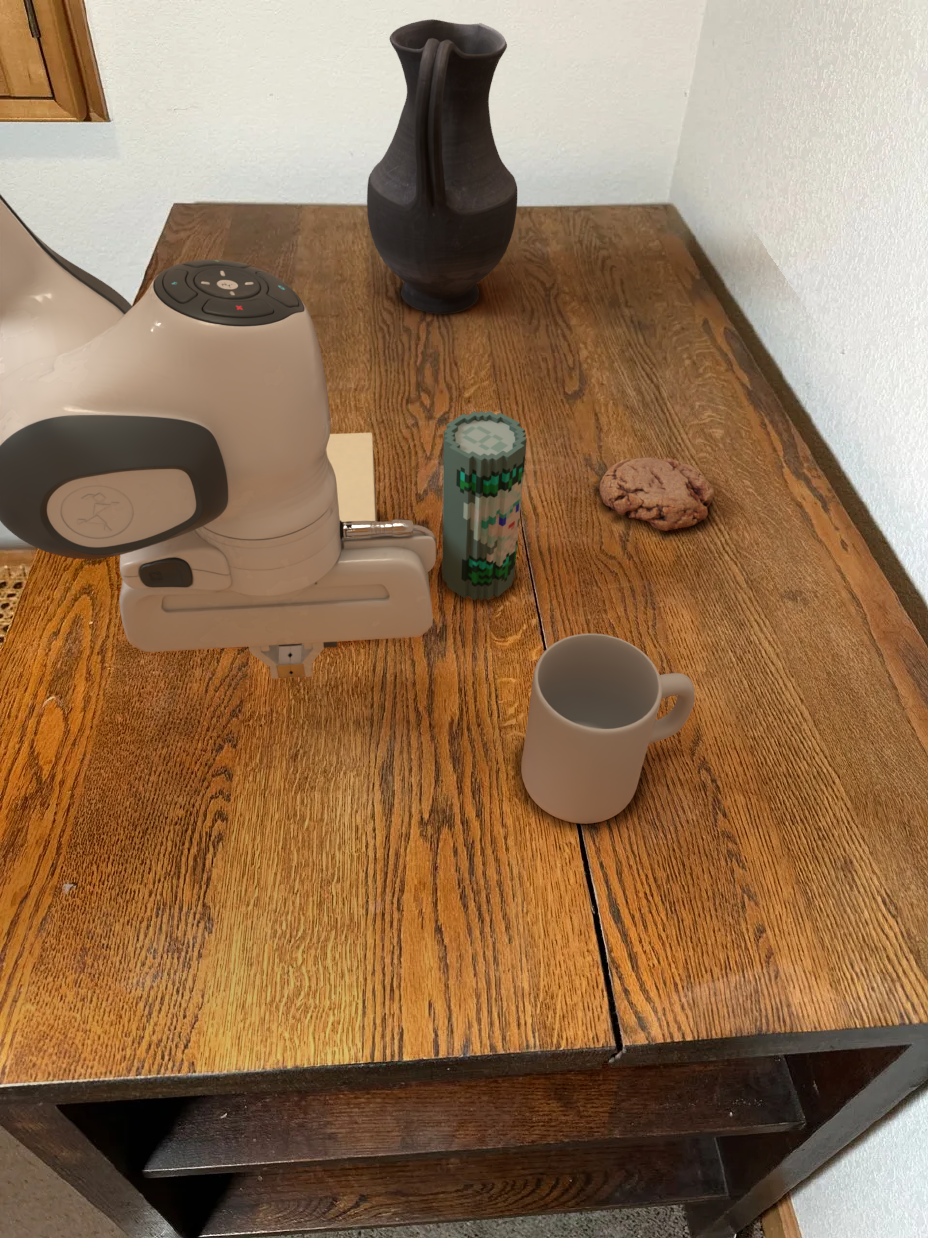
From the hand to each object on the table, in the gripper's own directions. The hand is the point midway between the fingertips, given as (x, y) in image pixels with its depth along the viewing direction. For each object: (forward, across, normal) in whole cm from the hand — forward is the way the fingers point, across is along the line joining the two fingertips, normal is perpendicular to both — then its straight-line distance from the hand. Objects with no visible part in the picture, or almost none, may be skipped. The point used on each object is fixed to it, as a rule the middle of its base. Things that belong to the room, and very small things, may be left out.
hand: (292, 671), depth 67 cm
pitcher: (+6, -16, -62) cm, 65 cm away
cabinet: (+6, 0, -16) cm, 17 cm away
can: (+6, -15, -14) cm, 22 cm away
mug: (+6, -22, +7) cm, 24 cm away
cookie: (+6, -33, -23) cm, 41 cm away
